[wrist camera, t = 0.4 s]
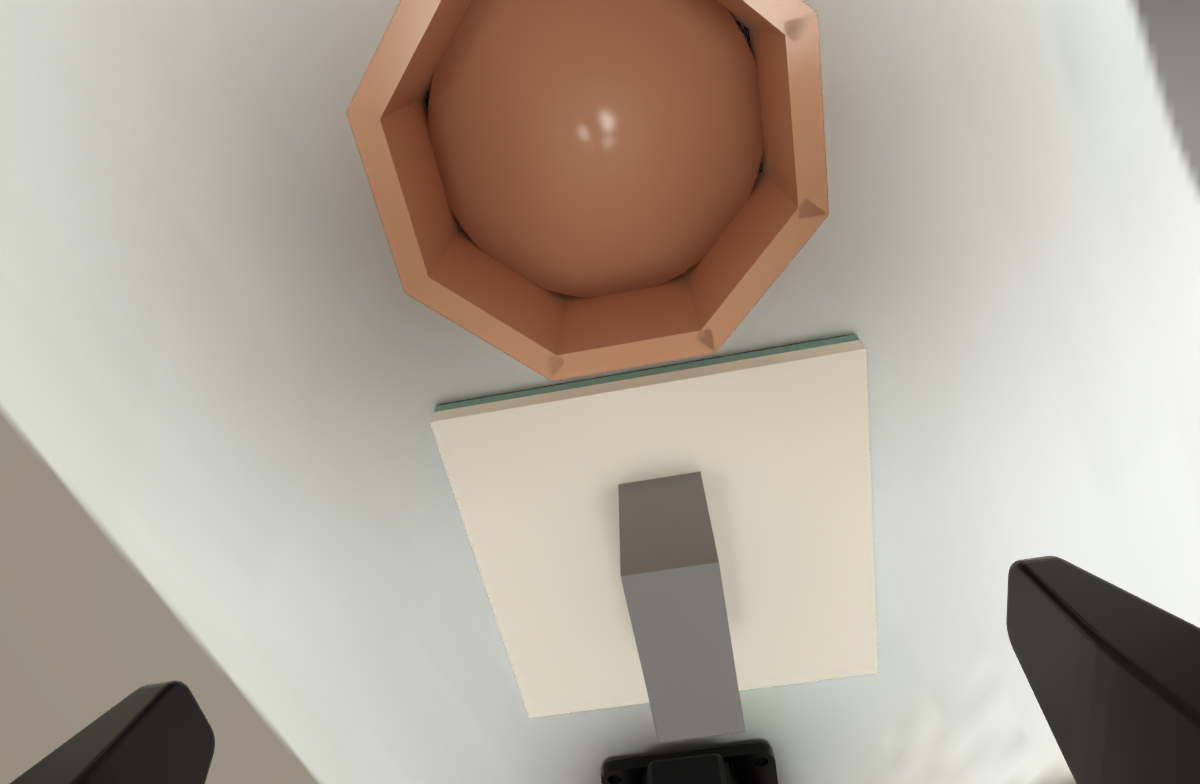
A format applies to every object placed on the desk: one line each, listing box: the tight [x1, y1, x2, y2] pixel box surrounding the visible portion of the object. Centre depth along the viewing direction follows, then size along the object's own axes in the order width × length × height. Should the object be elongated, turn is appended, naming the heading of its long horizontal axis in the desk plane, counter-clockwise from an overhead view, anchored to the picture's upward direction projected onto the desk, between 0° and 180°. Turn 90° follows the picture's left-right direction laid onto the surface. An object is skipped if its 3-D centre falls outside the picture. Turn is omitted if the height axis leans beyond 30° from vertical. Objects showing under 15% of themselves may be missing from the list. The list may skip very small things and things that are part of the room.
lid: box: [430, 340, 879, 743], centre depth 22 cm, size 12×12×5 cm
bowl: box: [346, 0, 829, 381], centre depth 17 cm, size 9×9×4 cm
